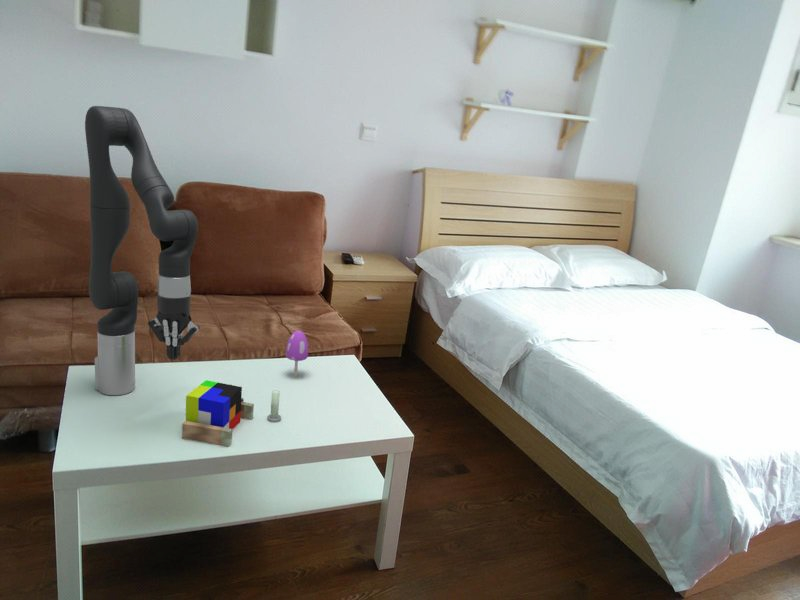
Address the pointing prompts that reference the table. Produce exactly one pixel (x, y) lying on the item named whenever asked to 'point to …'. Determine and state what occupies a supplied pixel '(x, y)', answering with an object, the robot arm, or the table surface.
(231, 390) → the puzzle toy
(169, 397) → the table surface
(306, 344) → the toy
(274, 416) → the goal post
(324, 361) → the table surface
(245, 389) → the table surface
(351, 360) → the table surface
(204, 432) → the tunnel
